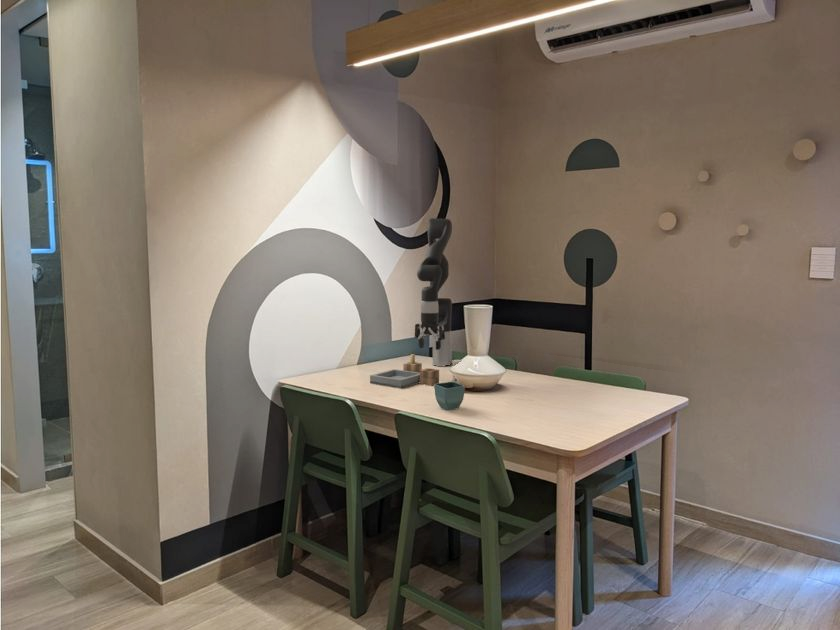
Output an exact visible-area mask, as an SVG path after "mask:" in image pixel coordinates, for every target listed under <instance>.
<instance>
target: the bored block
mask: <svg viewBox="0 0 840 630" xmlns="http://www.w3.org/2000/svg"><path fill="white" fill-rule="evenodd" d="M437 383H440V369H437V368H436V369H435V368H424V369H422V370H420V383H419V385H423V384H425V386H430V385H432V386H434V384H437Z"/></svg>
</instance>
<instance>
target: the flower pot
mask: <svg viewBox="0 0 840 630" xmlns="http://www.w3.org/2000/svg"><path fill="white" fill-rule="evenodd" d="M433 388H434V396H435V400H436V403H437V404H438V406H439V407H440V408H442V409H444V410H446V411H450V410H451V411H452V410H457V409H456V408H458V409H459V408H460V406H461V404H462V403H463V402H464V401H463V400H464V397H465V391H466V389H465V386H464V385H461V384H458V383H456V382H453V381H448V382H439V383H437V384H434V385H433Z"/></svg>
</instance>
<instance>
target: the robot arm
mask: <svg viewBox="0 0 840 630" xmlns="http://www.w3.org/2000/svg"><path fill="white" fill-rule="evenodd" d="M426 228H427V229H426V230H427V241H428V248H427V251H426V253H425V257H424V260H422V262H421V263H420V265H419V266H418V268H417V272H416V276H417V278H418V280H419V281H421V282H429V285H430V286H429V285H428V286H425V287H422V289H421V302H420V303H421V304H420V322H421V323H416V324H415V325H414V338H416V339H417V340H418V347H419V349H423V348H424V347H425V345H424V344H425V341H424V337H425V336H428V335H429V336H432V365H433V366H434V365H436V366H435V367H444V366H443V365H449V364H451V363H452V364H453V345H452V313H453V312H452V311H453V302H452V298H448V297H447V298H446V297H445V298H443V297H442V298H441V297H439V291H441V288H442V287H443V285H445V283H446V282H447V280H448V277H449V274H450V273H449V270H450V269H449V265H450V264H449V260H448V259H447V257H446V255H445V254H444V251H445V249H446V248H447V245H448V243H449V241H450V239H451V236H452V233H453V232H452V231H453V224H452V221H451V219H449V218H438V217H437V218H436V217H435V218H433V217H431V218H429V219H428V222H427V227H426ZM439 318H444V319H443V320H442V321H440V322H439ZM452 364H451V365H452Z"/></svg>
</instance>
